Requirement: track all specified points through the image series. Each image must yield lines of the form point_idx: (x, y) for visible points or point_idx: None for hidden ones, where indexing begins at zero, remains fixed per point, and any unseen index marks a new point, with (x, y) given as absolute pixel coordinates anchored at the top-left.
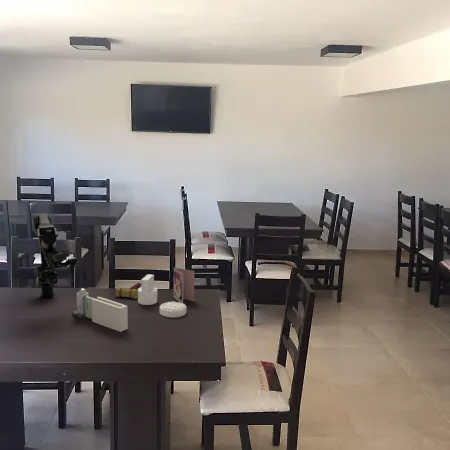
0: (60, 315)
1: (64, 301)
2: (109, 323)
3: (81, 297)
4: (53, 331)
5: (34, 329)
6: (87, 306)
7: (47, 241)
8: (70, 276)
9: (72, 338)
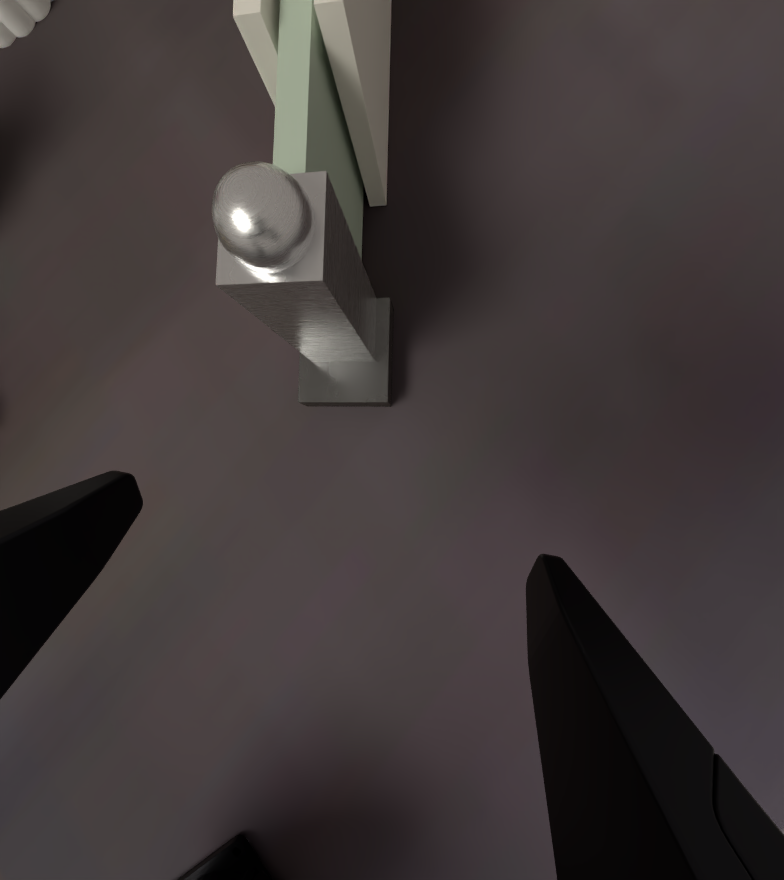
0: (450, 472)
1: (239, 684)
2: (385, 3)
3: (337, 213)
4: (687, 260)
5: (766, 400)
6: None
7: None
8: (29, 605)
9: (673, 66)
